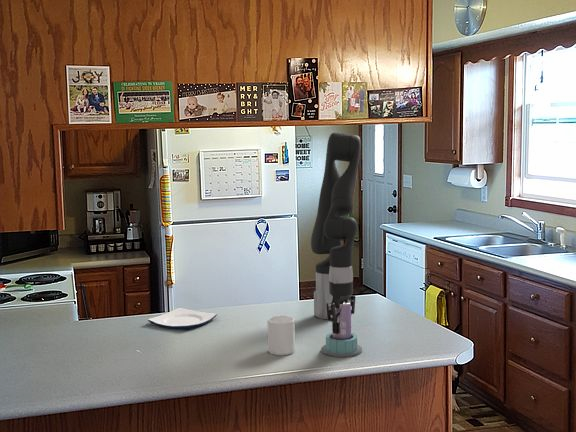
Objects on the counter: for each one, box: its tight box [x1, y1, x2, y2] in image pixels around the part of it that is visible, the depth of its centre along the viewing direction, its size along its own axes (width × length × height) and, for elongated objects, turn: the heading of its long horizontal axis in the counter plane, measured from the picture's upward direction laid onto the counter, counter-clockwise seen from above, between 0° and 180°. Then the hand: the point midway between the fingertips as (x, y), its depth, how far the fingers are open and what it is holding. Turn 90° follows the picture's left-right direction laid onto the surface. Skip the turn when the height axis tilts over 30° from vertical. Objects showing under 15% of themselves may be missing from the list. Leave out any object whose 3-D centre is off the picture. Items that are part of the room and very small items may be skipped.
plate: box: [147, 307, 218, 330], centre depth 266 cm, size 20×20×3 cm
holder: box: [321, 332, 363, 359], centre depth 230 cm, size 13×13×5 cm
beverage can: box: [332, 302, 352, 340], centre depth 229 cm, size 6×6×15 cm
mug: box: [266, 315, 296, 356], centre depth 231 cm, size 9×12×11 cm
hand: (341, 330), depth 229 cm, fingers closed on beverage can, 6 cm apart
